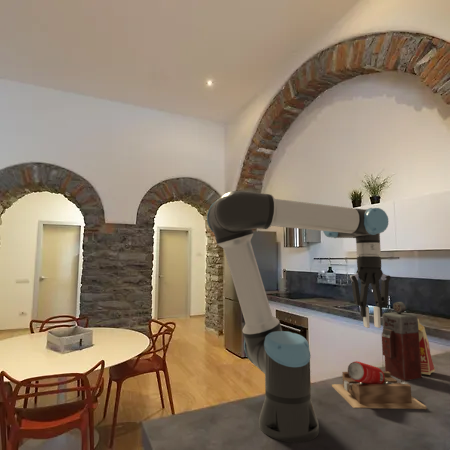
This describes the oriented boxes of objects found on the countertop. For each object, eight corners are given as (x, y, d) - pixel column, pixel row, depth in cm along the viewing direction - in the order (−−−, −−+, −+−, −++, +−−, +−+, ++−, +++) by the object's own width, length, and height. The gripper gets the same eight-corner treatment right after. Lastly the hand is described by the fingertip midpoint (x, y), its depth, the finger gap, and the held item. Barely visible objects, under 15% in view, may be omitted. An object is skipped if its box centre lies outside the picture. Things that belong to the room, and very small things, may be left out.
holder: (353, 411, 96) (352, 389, 97) (331, 387, 114) (331, 369, 115) (426, 410, 97) (425, 388, 97) (393, 387, 114) (392, 369, 115)
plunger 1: (347, 391, 104) (346, 383, 104) (344, 388, 106) (343, 380, 107) (368, 390, 104) (367, 383, 105) (364, 388, 107) (364, 380, 107)
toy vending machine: (380, 373, 128) (377, 301, 131) (401, 370, 132) (397, 300, 135) (399, 381, 120) (395, 304, 123) (421, 377, 124) (417, 302, 127)
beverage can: (380, 365, 108) (359, 354, 100) (389, 385, 104) (368, 377, 95) (364, 370, 111) (342, 361, 103) (372, 391, 106) (350, 383, 98)
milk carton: (410, 365, 139) (407, 317, 141) (435, 370, 132) (432, 320, 134) (403, 370, 132) (400, 320, 134) (429, 376, 126) (426, 323, 128)
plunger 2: (387, 390, 104) (386, 382, 105) (383, 387, 107) (382, 380, 107) (407, 390, 105) (407, 382, 105) (403, 387, 107) (403, 380, 107)
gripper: (349, 255, 106) (352, 329, 104) (398, 255, 107) (402, 329, 104) (341, 256, 114) (343, 324, 111) (386, 256, 114) (389, 324, 112)
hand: (372, 326), depth 108 cm, fingers open, 3 cm apart
